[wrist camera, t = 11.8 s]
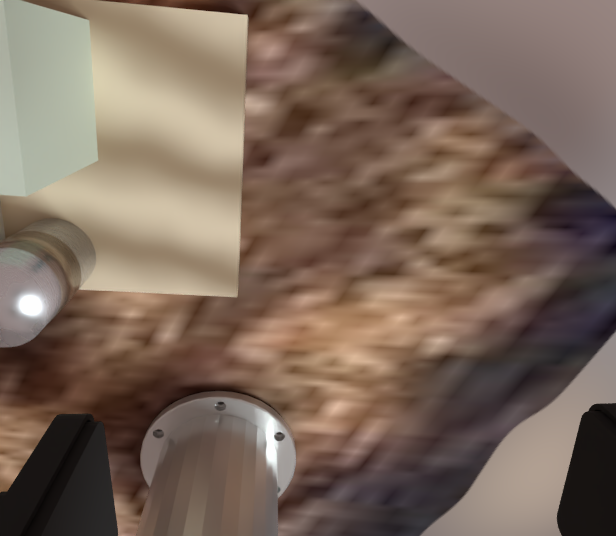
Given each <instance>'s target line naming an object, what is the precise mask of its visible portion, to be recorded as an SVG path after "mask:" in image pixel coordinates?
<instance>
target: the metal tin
mask: <svg viewBox="0 0 616 536" xmlns="http://www.w3.org/2000/svg"><path fill="white" fill-rule="evenodd" d="M95 264H96V252H95V249H94V246H93V243H92V242H91V240H90V238H89V237H88V236H87V234H86V233H85V232H84V231H83V230H82V229H80V228H79V227H78V226H76V225H75V224H73V223H71V222H69V221H66V220H62V219H57V218H46V219H41V220H38V221H35V222H33V223H32V224H30V225H29V226H27V227H25V228H24V229H22V230H20V231H19V232H17V233H15V234H13V235H11V236H9V237H8V238H6V239H4V240H3V241H1V242H0V347H14V346H19V345H22V344H25V343H27V342H29V341H30V340H32V339H33V338H35V337H36V336H37V335H38V334H39V333H40V332H41V330H42V329H43V328H44V327H45V326H46V325H47V324H48V323H49V322H50V321H51V320H52V319H53V318H54V317H55V316H56V315H57V314H58V313H59V312H60V311H61V310H62V308H63V307H64V306H65V305H66V304H67V303H68V302H69V301H70V299H71V298H72V297H73V296H74V295H75V294H76V292H77V290H78V289H79V288H80V287H81V286H82V285H83V284H84V283H85V282H86V280H87V279H88V278H89V277H90V276H91V274H92V273H93V271H94V268H95Z"/></svg>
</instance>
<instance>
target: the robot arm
mask: <svg viewBox="0 0 616 536" xmlns="http://www.w3.org/2000/svg"><path fill="white" fill-rule="evenodd" d="M140 463H141V469H142V473H143V476H144V479H145V481H146V482H147V484H148V486H149V488H150V489H149V492H148V496H147V499H146V502H145V506H144V509H143V512H142V516H141V519H140V523H139V526H138V529H137V533H136V536H278V498H279V497H280V496H281V495H282V493H283V492H284V491H285V489H286V488H287V487H288V485H289V483H290V481H291V479H292V477H293V475H294V470H295V465H296V450H295V443H294V438H293V436H292V433H291V431H290V428H289V427H288V425H287V424H286V422H285V421H284V419H283V418H282V417H281V416H280V415H279V414H278V413H277V412H276V411H275V410H274V409H273V408H271V407H270V406H268V405H266V404H265V403H263V402H262V401H260V400H257V399H255V398H253V397H250V396H248V395H244V394H240V393H235V392H227V391H211V392H201V393H198V394H194V395H190V396H187V397H185V398H182V399H180V400H178V401H176V402H174V403H172V404H171V405H169V406H168V407H167V408H165V409H164V410H163V411H162V412H161V413H160V414H159V415H158V416H157V417H156V418H155V419H154V420H153V422H152V423H151V425H150V427H149V428H148V430H147V432H146V435H145V438H144V440H143V443H142V448H141V453H140ZM557 523H558V528H559V530H560V533H561V535H562V536H616V403H612V404H594V405H592V406H591V408H590V409H589V411H588V412H585V413H584V414H583V415H582V418H581V422H580V425H579V430H578V433H577V437H576V441H575V445H574V450H573V454H572V458H571V462H570V465H569V470H568V473H567V477H566V481H565V485H564V489H563V493H562V497H561V501H560V505H559V509H558V513H557ZM0 536H118V528H117V521H116V513H115V506H114V498H113V490H112V483H111V475H110V468H109V460H108V453H107V445H106V438H105V430H104V425H103V423H102V422H94V418H93V416H92V415H91V414H60V415H57V416H56V417H55V419H54V420H53V421H52V423H51V425H50V426H49V428H48V429H47V431H46V432H45V434H44V435H43V437H42V439H41V440H40V442H39V443H38V445H37V446H36V448H35V449H34V451H33V453H32V454H31V456H30V457H29V459H28V460H27V462H26V463H25V465H24V467H23V468H22V470H21V471H20V473H19V474H18V476H17V477H16V479H15V481H14V482H13V484H12V485H11V487H10V488H9V490H8V491H7V492H1V493H0Z"/></svg>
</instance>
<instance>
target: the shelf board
mask: <svg viewBox="0 0 616 536" xmlns="http://www.w3.org/2000/svg"><path fill="white" fill-rule="evenodd" d="M22 1H25V2H28V3H32V4H35V5H39V6H42V7H46V8H49V9H52V10H56V11H59V12H63V13H66V14H70V15H73V16H77V17H80V18H83V19H87V20H89V25H90V41H91V56H92V72H93V87H94V103H95V118H96V134H97V150H98V161H96V162H94V163H92V164H90V165H88V166H86V167H84V168H82V169H80V170H78V171H76V172H74V173H72V174H70V175H68V176H66V177H64V178H62V179H60V180H58V181H56V182H54V183H52V184H50V185H48V186H46V187H44V188H42V189H40V190H38V191H36V192H34V193H32V194H30V195H28V196H10V195H0V242H1V241H3V240H4V239H6V238H8V237H9V236H11V235H13V234H15V233H17V232H19V231H20V230H22V229H24V228H25V227H27V226H29V225H30V224H32V223H33V222H35V221H38V220H41V219H46V218H57V219H62V220H66V221H69V222H71V223H73V224H75V225H76V226H78V227H79V228H80V229H82V230H83V231H84V232H85V233H86V234H87V236H88V237H89V238H90V240H91V242H92V243H93V246H94V249H95V252H96V264H95V268H94V271H93V273H92V274H91V276H90V277H89V278H88V279H87V280H86V282H85V283H84V284H83V285H82V286H81V287H80V288H79V289H80V290H100V291H121V292H142V293H163V294H184V295H205V296H226V297H237V294H238V285H239V257H240V230H241V202H242V175H243V148H244V120H245V93H246V65H247V38H248V16H247V15H242V14H232V13H222V12H211V11H201V10H191V9H181V8H170V7H160V6H150V5H140V4H130V3H119V2H109V1H99V0H22Z"/></svg>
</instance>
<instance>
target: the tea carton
mask: <svg viewBox="0 0 616 536" xmlns="http://www.w3.org/2000/svg"><path fill="white" fill-rule="evenodd" d="M96 161H98V150H97V134H96V118H95V103H94V87H93V72H92V56H91V41H90V25H89V20H87V19H83V18H80V17H77V16H73V15H70V14H66V13H63V12H59V11H56V10H52V9H49V8H46V7H42V6H39V5H35V4H32V3H28V2H25V1H22V0H0V195H10V196H28V195H30V194H32V193H34V192H36V191H38V190H40V189H42V188H44V187H46V186H48V185H50V184H52V183H54V182H56V181H58V180H60V179H62V178H64V177H66V176H68V175H70V174H72V173H74V172H76V171H78V170H80V169H82V168H84V167H86V166H88V165H90V164H92V163H94V162H96Z"/></svg>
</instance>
